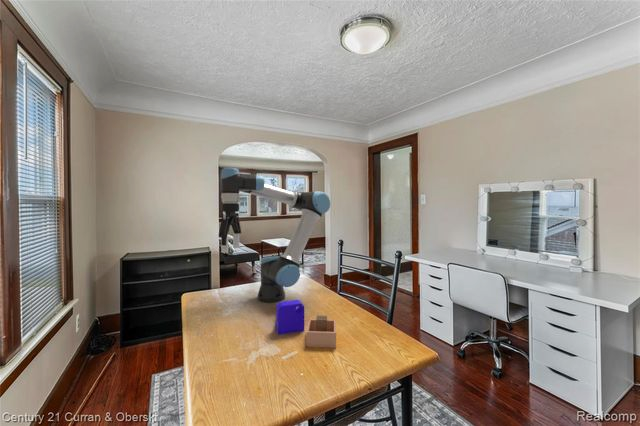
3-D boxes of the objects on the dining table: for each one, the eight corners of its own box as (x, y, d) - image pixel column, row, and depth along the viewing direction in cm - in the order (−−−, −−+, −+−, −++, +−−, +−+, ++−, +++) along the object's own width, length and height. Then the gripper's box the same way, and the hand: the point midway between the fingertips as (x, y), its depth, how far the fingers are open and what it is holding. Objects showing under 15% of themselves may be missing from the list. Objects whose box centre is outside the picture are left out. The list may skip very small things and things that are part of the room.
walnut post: (316, 335, 107) (317, 315, 107) (326, 335, 107) (327, 315, 106) (316, 340, 103) (316, 319, 103) (326, 340, 103) (326, 320, 102)
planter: (308, 332, 111) (308, 319, 110) (335, 333, 110) (335, 319, 110) (306, 346, 100) (306, 332, 100) (335, 347, 99) (336, 333, 99)
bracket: (304, 330, 112) (304, 303, 112) (278, 335, 109) (278, 306, 108) (293, 314, 129) (293, 289, 129) (270, 317, 125) (270, 292, 125)
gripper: (232, 202, 133) (232, 245, 134) (209, 202, 109) (210, 255, 109) (247, 202, 133) (247, 245, 134) (227, 203, 108) (228, 255, 109)
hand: (230, 250), depth 122 cm, fingers open, 13 cm apart
